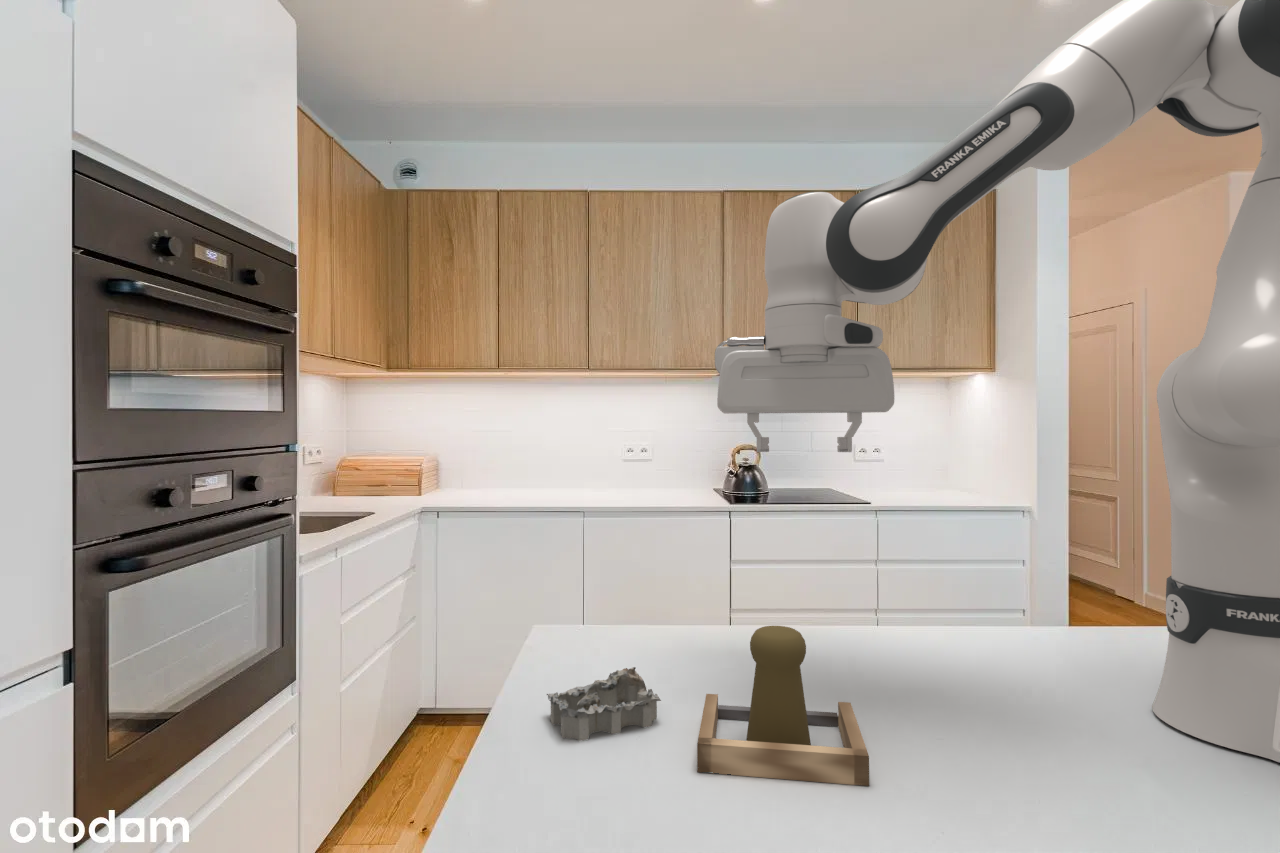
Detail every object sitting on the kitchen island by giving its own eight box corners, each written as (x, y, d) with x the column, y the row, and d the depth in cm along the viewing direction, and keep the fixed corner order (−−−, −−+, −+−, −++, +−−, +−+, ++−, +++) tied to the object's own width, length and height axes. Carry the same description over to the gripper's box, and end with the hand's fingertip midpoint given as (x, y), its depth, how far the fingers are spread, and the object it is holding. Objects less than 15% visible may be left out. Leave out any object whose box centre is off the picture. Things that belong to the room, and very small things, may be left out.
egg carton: (638, 701, 75) (638, 664, 75) (666, 729, 68) (666, 689, 68) (544, 716, 71) (544, 677, 71) (563, 747, 64) (563, 704, 65)
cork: (812, 763, 61) (811, 640, 61) (744, 756, 62) (743, 636, 62) (810, 733, 67) (809, 621, 67) (747, 728, 68) (747, 618, 68)
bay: (849, 723, 69) (849, 698, 69) (869, 786, 57) (869, 756, 57) (707, 713, 71) (707, 689, 71) (697, 772, 59) (697, 743, 59)
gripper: (713, 334, 79) (713, 452, 79) (897, 329, 76) (898, 453, 76) (716, 340, 85) (716, 451, 85) (886, 336, 82) (887, 451, 82)
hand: (803, 452), depth 80 cm, fingers open, 8 cm apart
